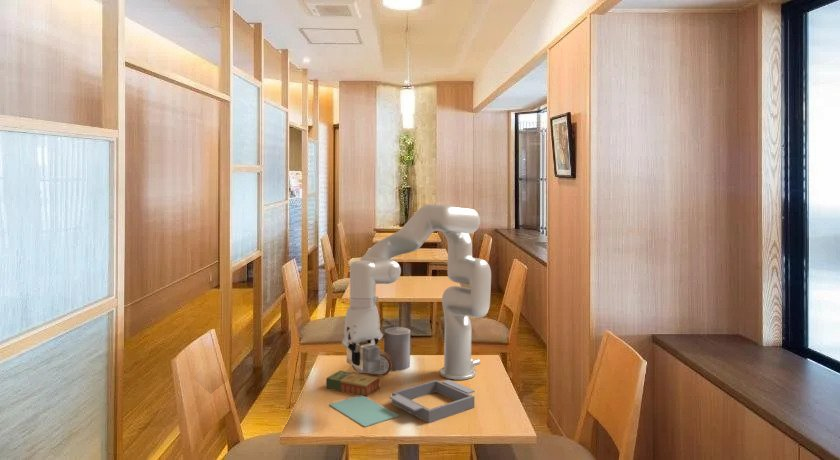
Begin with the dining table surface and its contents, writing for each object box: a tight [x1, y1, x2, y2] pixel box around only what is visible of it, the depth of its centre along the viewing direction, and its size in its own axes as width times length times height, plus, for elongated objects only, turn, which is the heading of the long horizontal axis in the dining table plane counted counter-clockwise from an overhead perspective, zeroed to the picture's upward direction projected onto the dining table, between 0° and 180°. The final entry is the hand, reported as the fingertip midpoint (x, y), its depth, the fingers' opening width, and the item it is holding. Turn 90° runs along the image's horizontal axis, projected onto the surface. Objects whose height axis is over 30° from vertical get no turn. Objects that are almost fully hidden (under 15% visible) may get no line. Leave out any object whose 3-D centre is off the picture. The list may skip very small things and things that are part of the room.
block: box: [346, 340, 381, 373], centre depth 170 cm, size 4×12×7 cm, turn 39°
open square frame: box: [389, 379, 475, 424], centre depth 176 cm, size 24×18×4 cm
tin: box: [351, 350, 393, 377], centre depth 203 cm, size 15×3×8 cm, turn 76°
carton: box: [325, 370, 381, 398], centre depth 190 cm, size 8×16×4 cm, turn 63°
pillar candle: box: [383, 326, 411, 371], centre depth 211 cm, size 10×10×15 cm
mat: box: [328, 395, 400, 428], centre depth 172 cm, size 12×20×1 cm, turn 39°
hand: (362, 362), depth 171 cm, fingers closed on block, 4 cm apart
